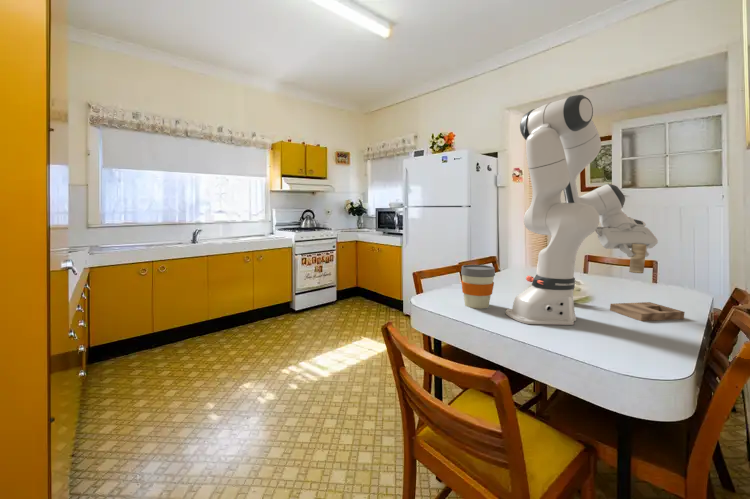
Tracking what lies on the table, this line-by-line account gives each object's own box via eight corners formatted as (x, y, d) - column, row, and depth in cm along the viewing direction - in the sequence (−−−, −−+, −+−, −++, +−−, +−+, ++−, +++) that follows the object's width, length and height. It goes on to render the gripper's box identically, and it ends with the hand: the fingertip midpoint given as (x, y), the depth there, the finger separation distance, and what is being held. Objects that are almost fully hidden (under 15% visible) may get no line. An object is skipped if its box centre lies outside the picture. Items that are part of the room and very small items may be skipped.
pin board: (640, 321, 112) (641, 313, 112) (610, 310, 124) (610, 303, 124) (683, 319, 114) (684, 311, 114) (649, 308, 126) (649, 302, 126)
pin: (637, 273, 117) (640, 244, 116) (626, 271, 121) (629, 243, 120) (646, 273, 118) (649, 244, 117) (635, 271, 122) (638, 243, 120)
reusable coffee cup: (458, 300, 138) (459, 264, 136) (490, 301, 136) (492, 265, 134) (461, 309, 126) (462, 269, 124) (496, 310, 124) (498, 270, 122)
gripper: (598, 221, 123) (619, 250, 114) (647, 221, 126) (671, 250, 117) (588, 232, 128) (607, 261, 119) (635, 232, 130) (657, 261, 122)
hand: (639, 256), depth 118 cm, fingers closed on pin, 4 cm apart
